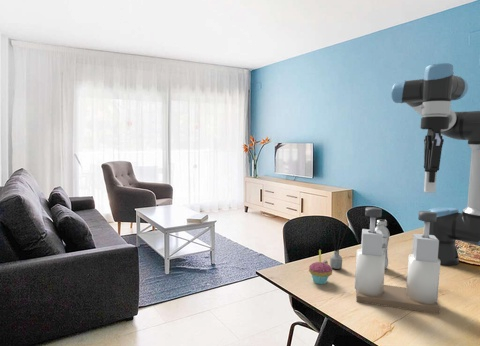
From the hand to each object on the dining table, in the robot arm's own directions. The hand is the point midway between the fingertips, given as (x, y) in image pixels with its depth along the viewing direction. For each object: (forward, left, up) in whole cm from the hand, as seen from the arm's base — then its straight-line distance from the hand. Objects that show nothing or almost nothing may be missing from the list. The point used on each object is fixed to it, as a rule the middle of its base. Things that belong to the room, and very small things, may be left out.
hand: (429, 192), depth 106 cm
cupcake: (+30, -14, -37) cm, 49 cm away
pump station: (+8, -2, -36) cm, 37 cm away
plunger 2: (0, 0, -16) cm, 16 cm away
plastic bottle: (+3, -29, -37) cm, 47 cm away
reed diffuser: (+22, -27, -37) cm, 50 cm away
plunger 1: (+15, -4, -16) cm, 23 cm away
